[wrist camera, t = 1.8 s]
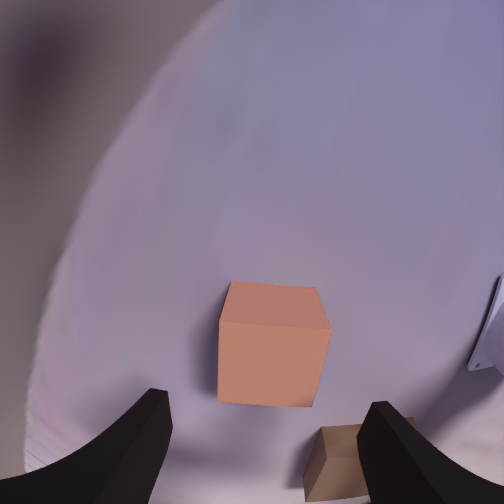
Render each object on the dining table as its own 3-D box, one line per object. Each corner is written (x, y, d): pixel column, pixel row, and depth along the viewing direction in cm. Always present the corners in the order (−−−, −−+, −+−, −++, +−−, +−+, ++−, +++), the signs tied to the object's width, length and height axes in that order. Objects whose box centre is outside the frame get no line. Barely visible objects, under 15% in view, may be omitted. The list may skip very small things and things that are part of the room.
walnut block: (411, 414, 18) (425, 443, 15) (380, 465, 21) (388, 491, 17) (320, 423, 19) (327, 458, 15) (302, 473, 21) (305, 502, 17)
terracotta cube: (315, 287, 15) (332, 329, 11) (302, 355, 17) (311, 407, 12) (231, 280, 16) (219, 321, 11) (228, 349, 17) (217, 401, 12)
